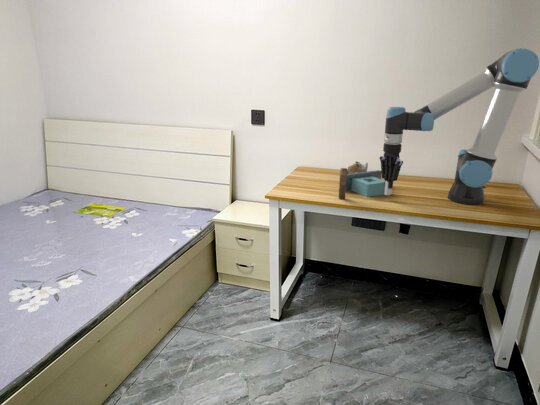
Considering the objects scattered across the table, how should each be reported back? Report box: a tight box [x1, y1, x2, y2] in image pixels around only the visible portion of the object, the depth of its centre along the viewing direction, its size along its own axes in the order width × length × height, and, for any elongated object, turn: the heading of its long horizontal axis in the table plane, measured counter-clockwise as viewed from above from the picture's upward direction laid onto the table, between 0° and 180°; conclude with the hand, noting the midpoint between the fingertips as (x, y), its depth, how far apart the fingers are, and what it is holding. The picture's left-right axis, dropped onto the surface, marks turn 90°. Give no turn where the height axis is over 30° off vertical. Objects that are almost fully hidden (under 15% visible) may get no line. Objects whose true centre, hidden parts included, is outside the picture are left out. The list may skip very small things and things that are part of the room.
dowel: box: [338, 167, 348, 200], centre depth 180 cm, size 3×3×14 cm
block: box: [350, 176, 385, 198], centre depth 191 cm, size 12×12×6 cm
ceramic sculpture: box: [347, 161, 369, 174], centre depth 220 cm, size 11×9×15 cm
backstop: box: [338, 169, 382, 192], centre depth 196 cm, size 2×24×8 cm, turn 115°
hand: (387, 194), depth 180 cm, fingers closed
